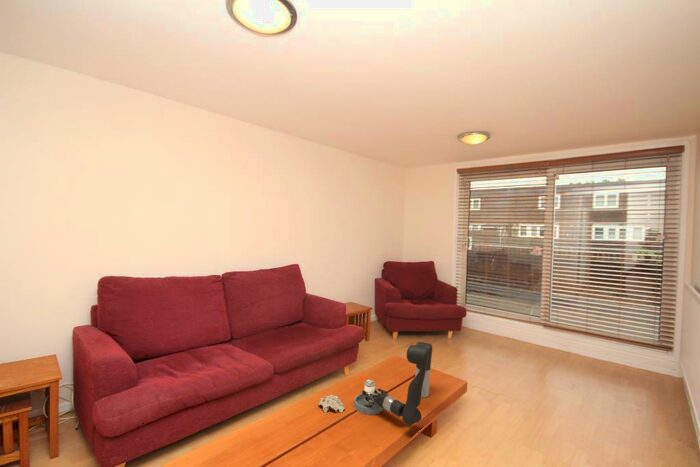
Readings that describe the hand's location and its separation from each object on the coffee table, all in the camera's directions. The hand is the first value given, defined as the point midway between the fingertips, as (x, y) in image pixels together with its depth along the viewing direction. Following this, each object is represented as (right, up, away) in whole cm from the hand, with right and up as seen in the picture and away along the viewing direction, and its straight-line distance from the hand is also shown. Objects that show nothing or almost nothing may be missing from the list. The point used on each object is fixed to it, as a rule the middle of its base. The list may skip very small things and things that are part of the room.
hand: (366, 390), depth 195 cm
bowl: (+1, -9, -2) cm, 9 cm away
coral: (-21, -8, -4) cm, 23 cm away
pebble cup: (+1, -7, -2) cm, 7 cm away
